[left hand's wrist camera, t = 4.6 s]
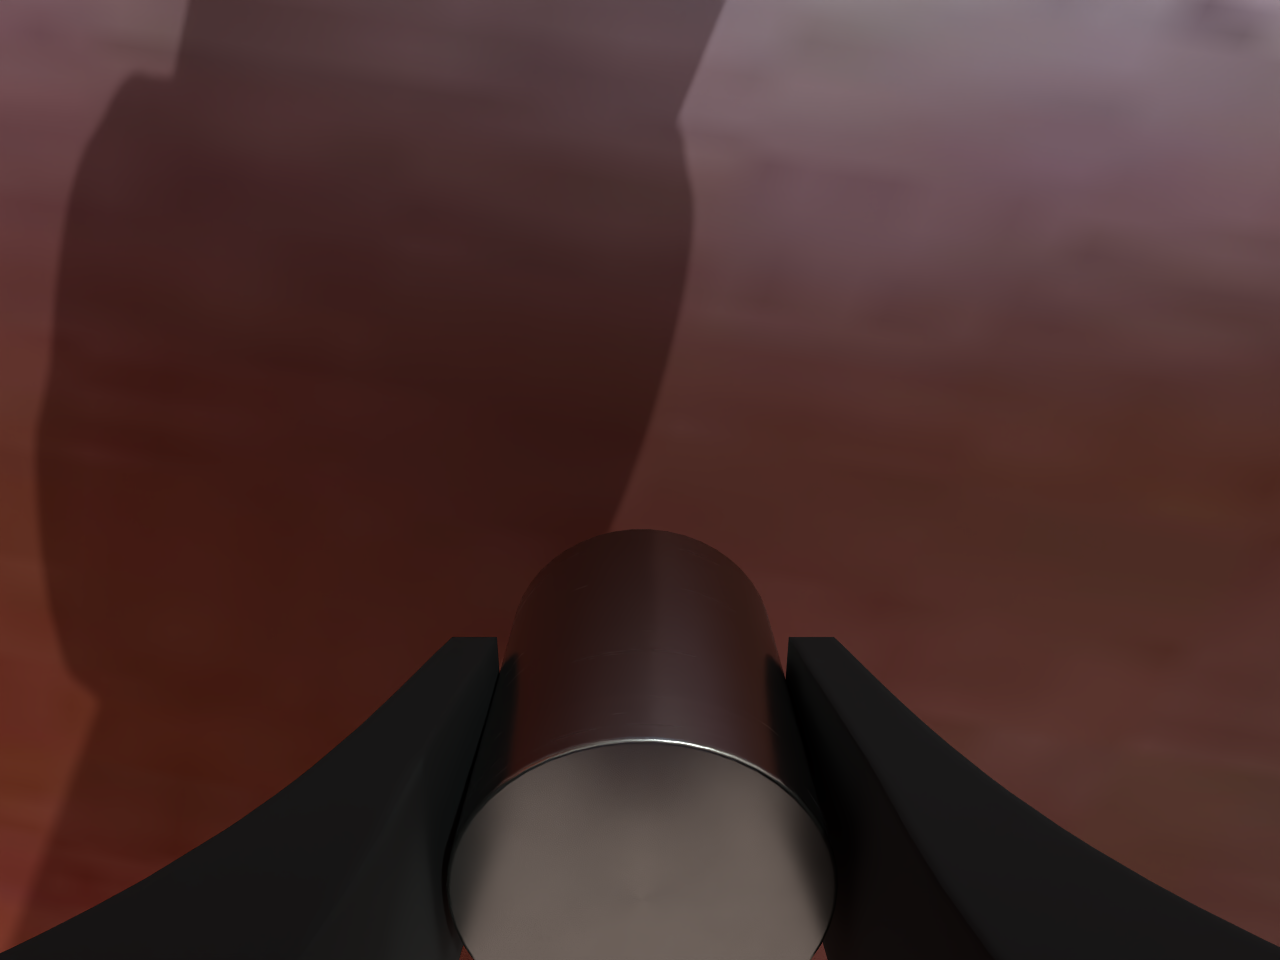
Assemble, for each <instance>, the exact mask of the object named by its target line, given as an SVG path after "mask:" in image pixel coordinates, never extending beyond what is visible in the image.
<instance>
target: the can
mask: <svg viewBox="0 0 1280 960" xmlns="http://www.w3.org/2000/svg"><path fill="white" fill-rule="evenodd" d="M446 889H447V897H448V906H449V910H450V913H451V916H452V920H453V923H454V926H455V929H456V931H457V933H458V935H459V937H460V939H461V941H462V943H463V945H464V946H465V948H466V949H467V951H468V952H469V954H470V955H471V957H472V958H473V960H811V959H812V957H813V956H814V954H815V953H816V951H817V950H818V948H819V947H820V945H821V944H822V942H823V940H824V938H825V936H826V934H827V931H828V929H829V927H830V925H831V921H832V918H833V914H834V911H835V907H836V901H837V892H838V874H837V864H836V860H835V856H834V852H833V848H832V844H831V840H830V837H829V833H828V830H827V826H826V823H825V819H824V815H823V812H822V808H821V805H820V801H819V798H818V794H817V790H816V787H815V783H814V780H813V776H812V773H811V769H810V765H809V762H808V758H807V755H806V751H805V748H804V744H803V740H802V737H801V733H800V730H799V726H798V723H797V719H796V715H795V712H794V708H793V705H792V701H791V698H790V694H789V690H788V687H787V683H786V680H785V676H784V673H783V669H782V665H781V662H780V658H779V655H778V651H777V648H776V644H775V640H774V637H773V633H772V630H771V626H770V623H769V619H768V615H767V612H766V609H765V606H764V604H763V602H762V599H761V597H760V595H759V593H758V592H757V590H756V588H755V587H754V585H753V583H752V582H751V581H750V579H749V578H748V577H747V576H746V575H745V573H744V572H743V571H742V570H741V569H740V568H739V567H738V566H737V565H736V564H735V563H734V562H733V561H731V560H730V559H729V558H728V557H726V556H725V555H723V554H722V553H720V552H719V551H718V550H716V549H714V548H712V547H710V546H708V545H707V544H705V543H703V542H701V541H698V540H695V539H693V538H690V537H687V536H685V535H681V534H676V533H672V532H668V531H660V530H652V529H631V530H623V531H615V532H611V533H607V534H603V535H599V536H596V537H593V538H590V539H588V540H585V541H583V542H580V543H578V544H576V545H575V546H573V547H571V548H569V549H567V550H565V551H564V552H563V553H561V554H560V555H558V556H557V557H556V558H554V559H553V560H552V561H550V562H549V563H548V564H547V565H546V566H545V567H544V568H543V569H542V570H541V571H540V572H539V573H538V575H537V576H536V577H535V578H534V580H533V581H532V582H531V583H530V585H529V587H528V588H527V590H526V592H525V593H524V595H523V597H522V599H521V602H520V604H519V606H518V609H517V612H516V615H515V619H514V623H513V626H512V630H511V634H510V637H509V641H508V645H507V648H506V652H505V656H504V659H503V663H502V667H501V670H500V674H499V677H498V681H497V685H496V688H495V692H494V696H493V699H492V703H491V707H490V710H489V714H488V718H487V721H486V725H485V729H484V732H483V736H482V740H481V743H480V747H479V751H478V754H477V758H476V762H475V765H474V769H473V773H472V776H471V780H470V783H469V787H468V791H467V794H466V798H465V802H464V805H463V809H462V813H461V816H460V820H459V824H458V827H457V831H456V835H455V838H454V842H453V846H452V849H451V854H450V858H449V862H448V867H447V882H446Z"/></svg>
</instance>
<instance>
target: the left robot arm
mask: <svg viewBox="0 0 1280 960" xmlns="http://www.w3.org/2000/svg"><path fill="white" fill-rule="evenodd" d="M498 677H499V661H498V647H497V637H452V638H451V639H450V640H449V641H448V642H447V643H446V644H445V645H444V646H442V647H441V648H440V649H439V650H438V651H437V652H436V653H435V654H434V655H433V656H432V657H431V658H430V659H429V660H428V661H427V662H426V663H425V664H424V665H423V666H422V667H421V668H420V669H419V670H418V671H417V672H416V673H415V674H414V675H413V676H412V677H411V678H410V679H409V680H408V681H407V682H406V683H405V684H404V685H403V686H402V687H401V688H400V689H399V690H398V691H397V692H396V693H395V694H394V695H393V696H391V697H390V698H389V699H388V700H387V701H386V702H385V703H384V704H383V705H382V706H381V707H380V708H379V709H378V710H377V711H375V712H374V713H373V714H372V715H371V716H370V717H369V718H368V719H367V720H366V721H365V722H364V723H363V724H362V725H361V726H359V727H358V728H357V729H356V730H355V731H354V732H353V733H351V734H350V735H349V736H348V737H347V738H346V739H344V740H343V741H342V742H341V743H340V744H338V745H337V746H336V747H335V748H334V749H333V750H331V751H330V752H329V753H328V754H327V755H326V756H324V757H323V758H322V759H321V760H320V761H318V762H317V763H316V764H315V765H314V766H313V767H311V768H310V769H309V770H308V771H306V772H305V773H304V774H302V775H301V776H300V777H299V778H297V779H296V780H295V781H293V782H292V783H291V784H289V785H288V786H287V787H285V788H284V789H283V790H281V791H280V792H279V793H277V794H276V795H275V796H273V797H272V798H270V799H269V800H268V801H266V802H265V803H263V804H262V805H260V806H259V807H258V808H256V809H255V810H253V811H252V812H251V813H249V814H248V815H246V816H245V817H243V818H242V819H241V820H239V821H238V822H236V823H235V824H233V825H232V826H230V827H229V828H227V829H226V830H224V831H222V832H221V833H219V834H218V835H216V836H214V837H213V838H211V839H209V840H208V841H206V842H204V843H203V844H201V845H200V846H198V847H196V848H195V849H193V850H191V851H190V852H188V853H187V854H185V855H183V856H182V857H180V858H178V859H177V860H175V861H173V862H172V863H170V864H169V865H167V866H165V867H164V868H162V869H160V870H159V871H157V872H156V873H154V874H152V875H151V876H149V877H147V878H146V879H144V880H142V881H140V882H138V883H137V884H135V885H133V886H131V887H129V888H128V889H126V890H124V891H122V892H120V893H118V894H117V895H115V896H113V897H111V898H109V899H107V900H106V901H104V902H102V903H100V904H98V905H96V906H95V907H93V908H91V909H89V910H87V911H85V912H83V913H81V914H79V915H77V916H75V917H73V918H71V919H69V920H67V921H65V922H63V923H61V924H59V925H57V926H55V927H54V928H52V929H50V930H48V931H46V932H44V933H42V934H40V935H38V936H36V937H33V938H31V939H29V940H27V941H25V942H23V943H21V944H19V945H17V946H15V947H13V948H11V949H9V950H7V951H4V952H2V953H0V960H459V958H460V954H461V951H462V947H463V943H462V941H461V939H460V937H459V935H458V933H457V931H456V929H455V926H454V923H453V920H452V916H451V913H450V910H449V906H448V897H447V889H446V882H447V867H448V862H449V858H450V854H451V849H452V846H453V842H454V838H455V835H456V831H457V827H458V824H459V820H460V816H461V813H462V809H463V805H464V802H465V798H466V794H467V791H468V787H469V783H470V780H471V776H472V773H473V769H474V765H475V762H476V758H477V754H478V751H479V747H480V743H481V740H482V736H483V732H484V729H485V725H486V721H487V718H488V714H489V710H490V707H491V703H492V699H493V696H494V692H495V688H496V685H497V681H498ZM786 683H787V687H788V690H789V694H790V698H791V701H792V705H793V708H794V712H795V715H796V719H797V723H798V726H799V730H800V733H801V737H802V740H803V744H804V748H805V751H806V755H807V758H808V762H809V765H810V769H811V773H812V776H813V780H814V783H815V787H816V790H817V794H818V798H819V801H820V805H821V808H822V812H823V815H824V819H825V823H826V826H827V830H828V833H829V837H830V840H831V844H832V848H833V852H834V856H835V860H836V864H837V874H838V892H837V901H836V907H835V911H834V914H833V918H832V921H831V925H830V927H829V929H828V931H827V934H826V936H825V938H824V940H823V945H824V948H825V952H826V955H827V959H828V960H1280V947H1278V946H1276V945H1274V944H1272V943H1270V942H1268V941H1265V940H1263V939H1261V938H1259V937H1257V936H1255V935H1253V934H1251V933H1249V932H1247V931H1245V930H1243V929H1241V928H1239V927H1237V926H1235V925H1233V924H1231V923H1229V922H1227V921H1225V920H1223V919H1221V918H1219V917H1217V916H1215V915H1213V914H1211V913H1209V912H1207V911H1205V910H1203V909H1201V908H1199V907H1197V906H1196V905H1194V904H1192V903H1190V902H1188V901H1186V900H1184V899H1182V898H1181V897H1179V896H1177V895H1175V894H1173V893H1171V892H1169V891H1168V890H1166V889H1164V888H1162V887H1160V886H1158V885H1156V884H1155V883H1153V882H1151V881H1149V880H1148V879H1146V878H1144V877H1142V876H1141V875H1139V874H1137V873H1136V872H1134V871H1132V870H1130V869H1129V868H1127V867H1125V866H1124V865H1122V864H1120V863H1119V862H1117V861H1115V860H1113V859H1112V858H1110V857H1108V856H1107V855H1105V854H1103V853H1102V852H1100V851H1098V850H1096V849H1095V848H1093V847H1091V846H1090V845H1088V844H1087V843H1085V842H1083V841H1082V840H1080V839H1079V838H1077V837H1076V836H1074V835H1072V834H1071V833H1069V832H1068V831H1066V830H1064V829H1063V828H1061V827H1060V826H1058V825H1057V824H1055V823H1054V822H1053V821H1051V820H1050V819H1048V818H1047V817H1045V816H1044V815H1042V814H1041V813H1039V812H1038V811H1037V810H1035V809H1034V808H1032V807H1031V806H1029V805H1028V804H1026V803H1025V802H1023V801H1022V800H1021V799H1019V798H1018V797H1016V796H1015V795H1013V794H1012V793H1010V792H1009V791H1008V790H1006V789H1005V788H1004V787H1002V786H1001V785H1000V784H998V783H997V782H996V781H994V780H993V779H992V778H990V777H989V776H988V775H986V774H985V773H984V772H983V771H981V770H980V769H979V768H978V767H976V766H975V765H974V764H973V763H971V762H970V761H969V760H968V759H966V758H965V757H964V756H963V755H961V754H960V753H959V752H958V751H956V750H955V749H954V748H953V747H952V746H950V745H949V744H948V743H947V742H946V741H944V740H943V739H942V738H941V737H940V736H939V735H937V734H936V733H935V732H934V731H933V730H932V729H930V728H929V727H928V726H927V725H926V724H925V723H924V722H922V721H921V720H920V719H919V718H918V717H917V716H916V715H915V714H914V713H912V712H911V711H910V710H909V709H908V708H907V707H906V706H905V705H904V704H903V703H902V702H900V701H899V700H898V699H897V698H896V697H895V696H894V695H893V694H892V693H891V692H890V691H889V690H888V689H887V688H886V687H885V686H884V685H883V684H882V683H880V682H879V681H878V680H877V679H876V678H875V677H874V676H873V675H872V674H871V673H870V672H869V671H868V670H867V669H866V668H865V667H864V666H863V665H862V664H861V663H860V662H859V661H858V660H857V659H856V658H855V657H854V656H853V655H852V654H851V653H850V652H849V651H848V650H847V649H846V648H845V647H844V646H843V645H842V644H841V643H840V642H838V641H837V640H836V639H835V638H834V637H789V643H788V656H787V669H786Z"/></svg>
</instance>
